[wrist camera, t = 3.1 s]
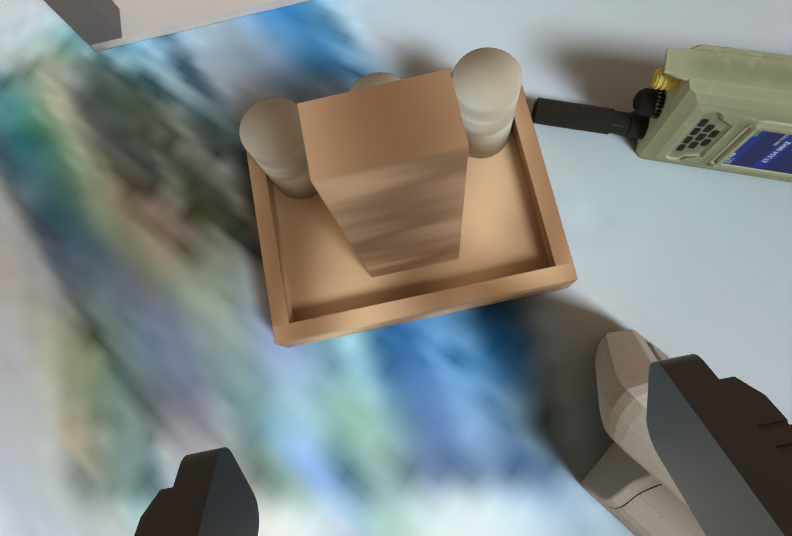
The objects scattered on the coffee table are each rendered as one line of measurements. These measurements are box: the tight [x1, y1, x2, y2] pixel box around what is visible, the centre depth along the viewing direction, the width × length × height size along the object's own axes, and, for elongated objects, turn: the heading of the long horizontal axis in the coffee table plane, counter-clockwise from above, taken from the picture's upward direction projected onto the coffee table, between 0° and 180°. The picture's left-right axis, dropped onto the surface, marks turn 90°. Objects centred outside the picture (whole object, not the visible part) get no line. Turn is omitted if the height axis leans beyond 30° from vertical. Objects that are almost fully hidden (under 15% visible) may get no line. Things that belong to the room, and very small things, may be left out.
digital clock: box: [581, 330, 706, 536], centre depth 20 cm, size 16×9×11 cm, turn 35°
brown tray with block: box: [239, 48, 578, 347], centre depth 23 cm, size 14×11×14 cm
